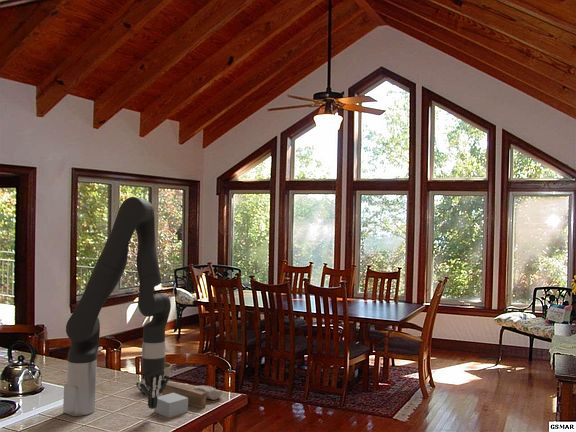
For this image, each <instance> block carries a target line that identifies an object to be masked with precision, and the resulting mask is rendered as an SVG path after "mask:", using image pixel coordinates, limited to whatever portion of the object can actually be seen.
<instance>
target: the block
mask: <svg viewBox="0 0 576 432" xmlns="http://www.w3.org/2000/svg"><path fill="white" fill-rule="evenodd" d="M153 412H154V413H156V414H158V413H159V415H161V416H163V417H166V418H168V419H169V418H173V417H176V416H179V415H182V414H186V413H189V405H188V398H187V397H184V396H182V395H179V394H176V393H170V394H166V395H162V394H161V395H158V397H157V407H156V408H154V409H153Z"/></svg>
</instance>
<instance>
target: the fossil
mask: <svg viewBox="0 0 576 432" xmlns="http://www.w3.org/2000/svg"><path fill="white" fill-rule="evenodd" d="M193 389H195V390H198V391H202V392H206V400H213V401H214V400H217V399H219V398H220V397H221V396H222V395H223V391H222V390H220V389H216V388H215V387H213V386H211V385H196V386H195V385H194V386H193Z"/></svg>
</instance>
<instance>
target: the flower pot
mask: <svg viewBox="0 0 576 432" xmlns="http://www.w3.org/2000/svg"><path fill="white" fill-rule="evenodd" d="M172 366H173V365H172V364H171V363H169V362H165V369H164V374H165V375H166V376H169V377H170V371H171V367H172ZM160 388H161V387H160Z"/></svg>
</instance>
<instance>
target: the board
mask: <svg viewBox="0 0 576 432" xmlns="http://www.w3.org/2000/svg"><path fill="white" fill-rule="evenodd" d="M170 393H176V394H179V395H182V396H184V397H187V398H188V406H191V407H194V408H197V409H204V408H205V407H206V404H207V403H206V402H207V401H206V400H207V398H206V392H202V391H198V390H195V389H194V388H190V387H187V386H183V385H179V384H176V383H171V382H169V381H168V382H167V384H166V386H165V388H164V390H163V392H162V393H161V396H162V395H166V394H170ZM203 407H204V408H203Z"/></svg>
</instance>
